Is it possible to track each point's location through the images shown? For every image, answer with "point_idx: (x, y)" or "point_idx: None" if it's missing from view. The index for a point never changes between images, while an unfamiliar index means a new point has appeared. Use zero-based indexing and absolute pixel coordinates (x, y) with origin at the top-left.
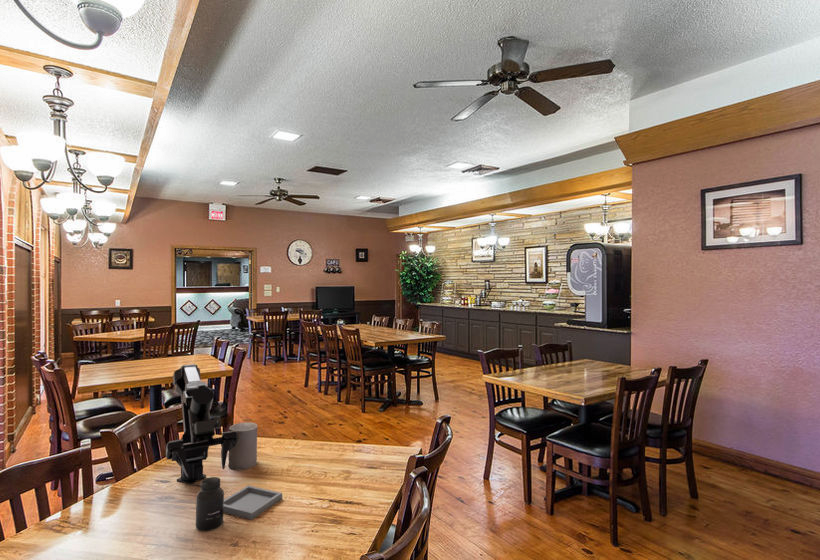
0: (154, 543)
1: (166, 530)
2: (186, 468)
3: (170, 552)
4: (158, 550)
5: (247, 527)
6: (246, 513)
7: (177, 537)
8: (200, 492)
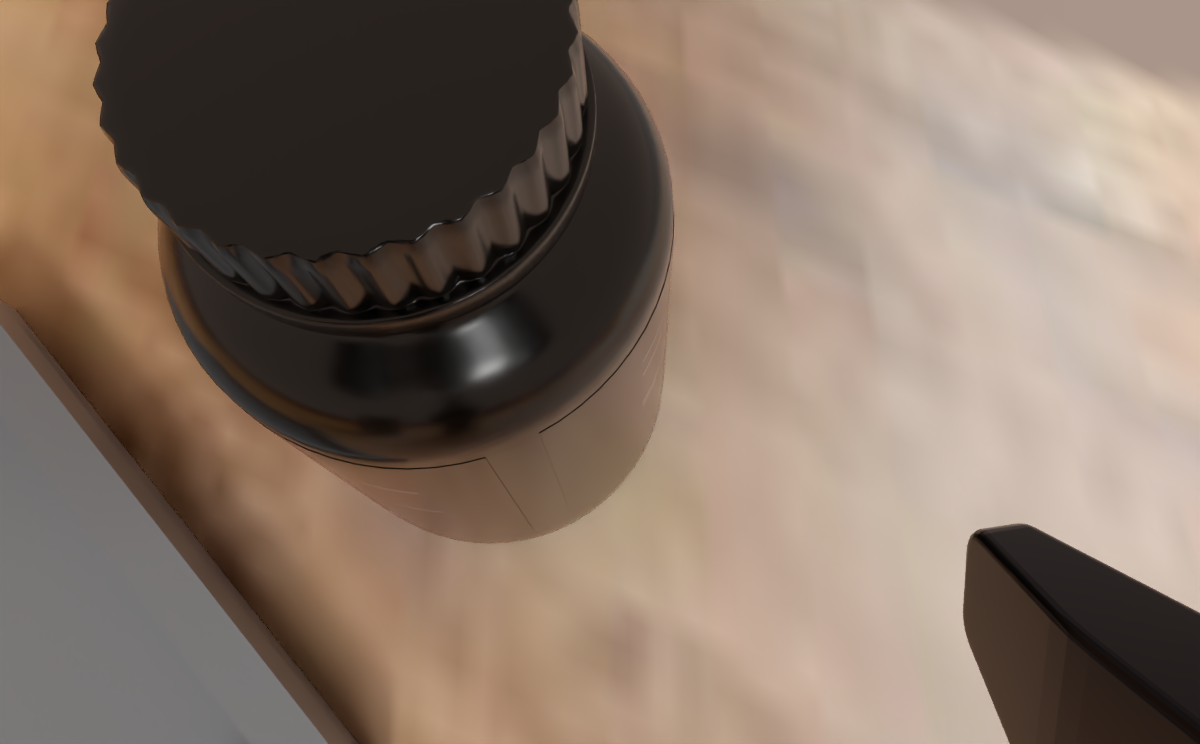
0: (1086, 229)
1: (1009, 475)
2: (1188, 638)
3: (884, 3)
4: (1011, 79)
5: (104, 164)
6: (25, 350)
7: (852, 256)
8: (597, 123)
